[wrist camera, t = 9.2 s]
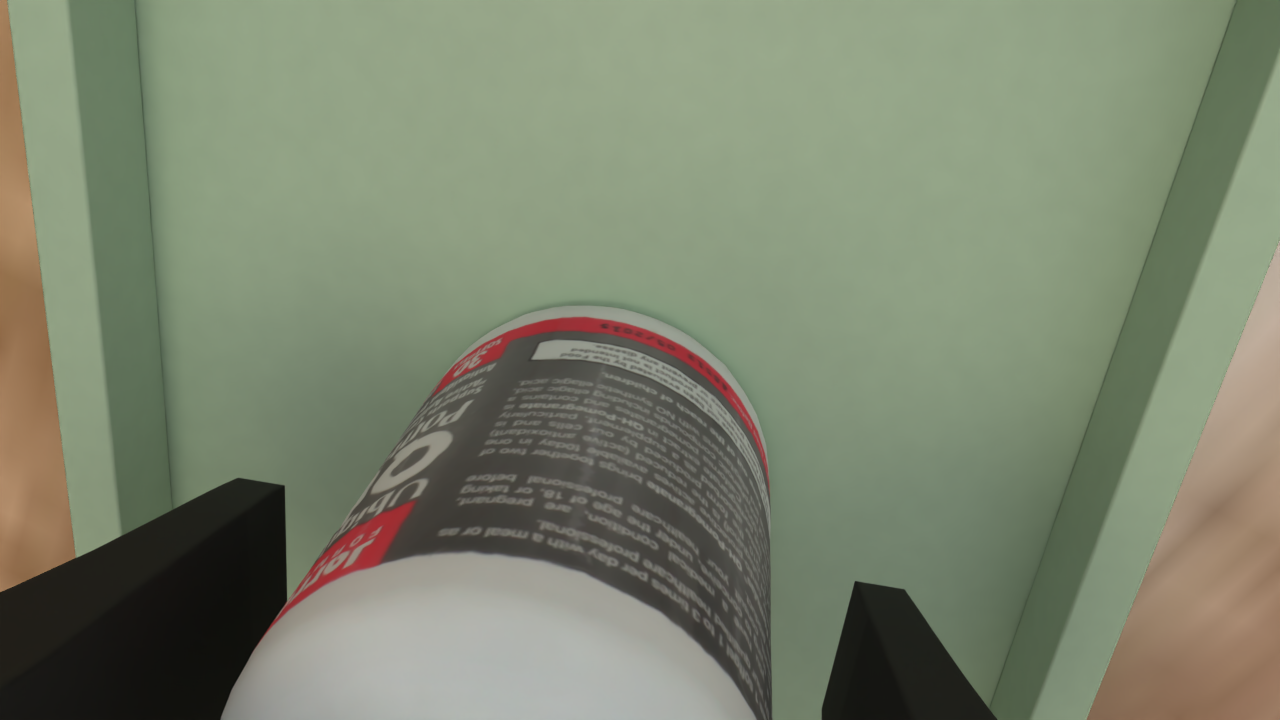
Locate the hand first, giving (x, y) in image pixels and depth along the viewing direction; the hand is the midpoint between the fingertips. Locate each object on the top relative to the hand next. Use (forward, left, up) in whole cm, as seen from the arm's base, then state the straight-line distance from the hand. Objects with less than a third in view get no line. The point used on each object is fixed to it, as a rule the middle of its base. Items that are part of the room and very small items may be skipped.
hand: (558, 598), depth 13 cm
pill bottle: (0, 0, -4) cm, 4 cm away
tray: (0, 0, -4) cm, 4 cm away
